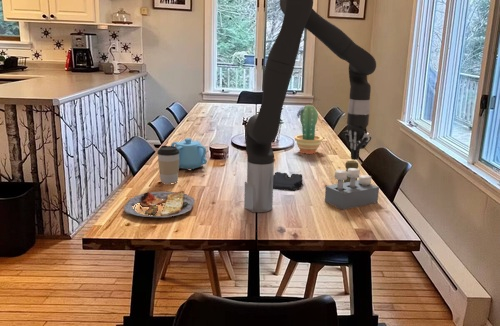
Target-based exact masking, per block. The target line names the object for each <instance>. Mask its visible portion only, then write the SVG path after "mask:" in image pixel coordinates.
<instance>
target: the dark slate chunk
mask: <svg viewBox="0 0 500 326" xmlns="http://www.w3.org/2000/svg"><path fill="white" fill-rule="evenodd" d="M302 186H303V173H302V174H301V173H300V174H299V173H291V174H290V176H289V174H288V173H287V172H279V171H277V172H274V176H273V190H278V191H279V190H280V191H290V192H295V191H299V190H300V188H301V187H302Z"/></svg>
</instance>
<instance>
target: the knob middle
mask: <svg viewBox="0 0 500 326" xmlns="http://www.w3.org/2000/svg"><path fill="white" fill-rule="evenodd" d="M360 174H361V170H360V169H359V168H357V169H356V168H349V169H348V172H347V176H348V177H350V188H355V183H356V178H357V179H359V176H360Z"/></svg>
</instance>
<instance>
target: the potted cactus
mask: <svg viewBox="0 0 500 326" xmlns="http://www.w3.org/2000/svg"><path fill="white" fill-rule="evenodd" d="M318 115H319V113H318V111H317V109H316V107H315V106H314V105H305V106H304V107H300V109H299V110H298V112H297V113H296V117H297V119H299V120H300V124H301V130H302V134H298V135H294V140H295V141H296V145H297V148H299V149H298V150H299V153H301V154H304V153H306V154H307V155H309V154H310V155H314V154H316V153H317V150H318V149H319V147H320V145H321V143H322V142H323V141H324V138H323V136H319V135H316V133H315V132H316V125H317V122H318V117H319V116H318ZM313 153H314V154H313ZM306 154H305V155H306Z"/></svg>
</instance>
